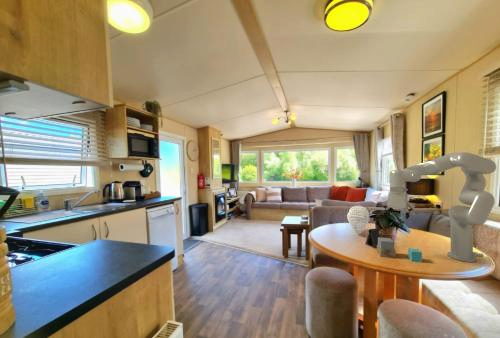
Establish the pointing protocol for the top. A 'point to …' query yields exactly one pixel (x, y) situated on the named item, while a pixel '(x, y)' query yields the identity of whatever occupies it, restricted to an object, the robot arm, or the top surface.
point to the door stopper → (372, 238)
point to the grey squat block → (385, 243)
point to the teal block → (414, 255)
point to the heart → (358, 231)
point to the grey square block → (386, 253)
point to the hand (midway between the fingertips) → (397, 217)
